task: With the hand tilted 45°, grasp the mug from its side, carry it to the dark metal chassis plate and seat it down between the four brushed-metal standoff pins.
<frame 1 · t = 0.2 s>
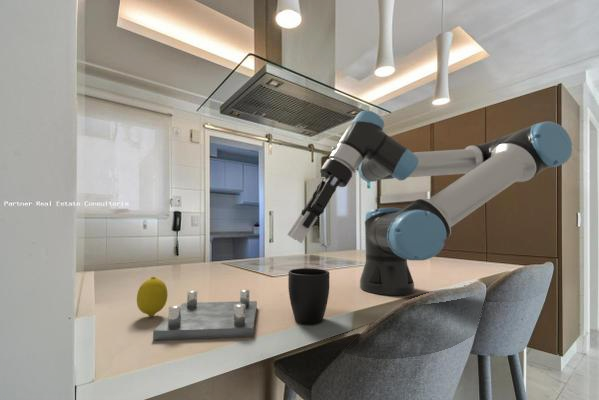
hand: (293, 238, 66), 15 cm above the worktop, tool tilted 35°, fingers open, 13 cm apart
chassis: (213, 321, 54), on the worktop
lemon: (151, 317, 57), on the worktop
mug: (304, 318, 57), on the worktop
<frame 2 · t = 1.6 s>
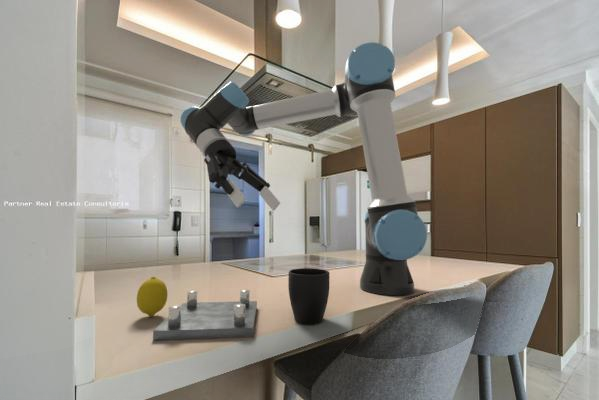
hand: (260, 205, 66), 23 cm above the worktop, tool tilted 45°, fingers open, 13 cm apart
nothing on the worktop moved.
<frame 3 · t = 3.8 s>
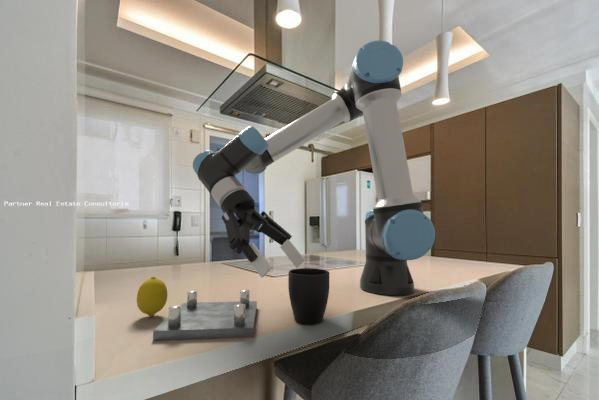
hand: (285, 268, 59), 10 cm above the worktop, tool tilted 45°, fingers open, 13 cm apart
nothing on the worktop moved.
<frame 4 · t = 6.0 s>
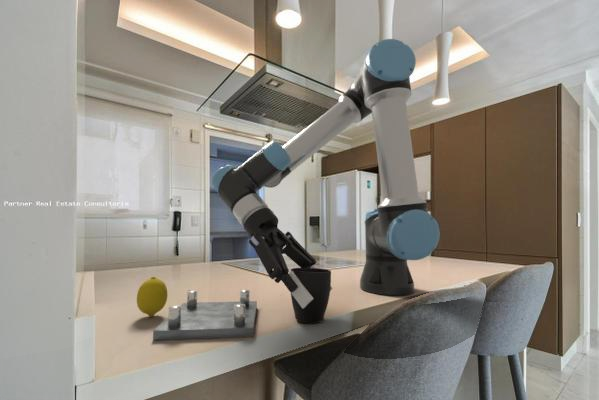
hand: (318, 297, 56), 4 cm above the worktop, tool tilted 45°, fingers closed on mug, 9 cm apart
mug: (305, 317, 57), on the worktop, touching gripper
everything else where it was.
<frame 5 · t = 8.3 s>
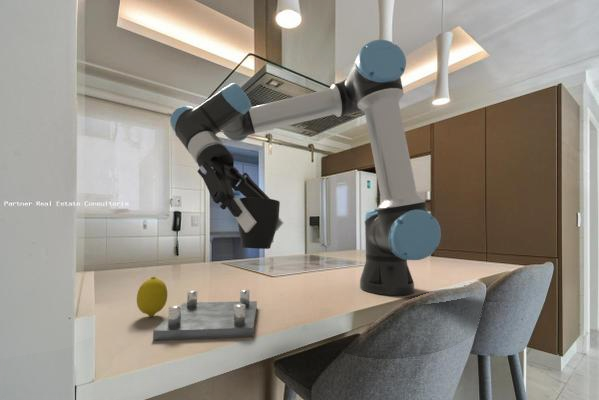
hand: (265, 227, 55), 18 cm above the worktop, tool tilted 45°, fingers closed on mug, 9 cm apart
mug: (253, 248, 57), point 14 cm above the worktop, touching gripper
everything else where it was.
when the fingers open (8 cm above the worktop, at t = 11.0 s): mug drops 2 cm, resting on chassis.
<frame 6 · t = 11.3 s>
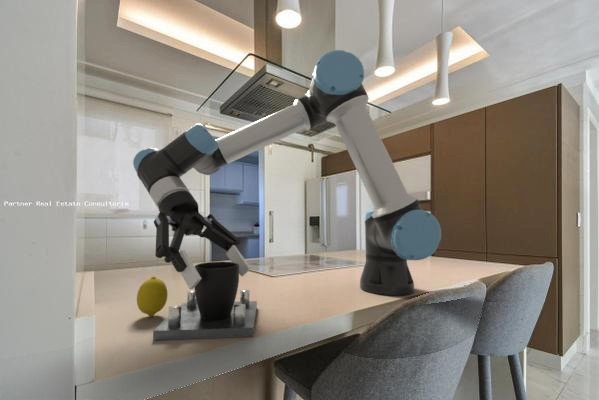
hand: (223, 277, 54), 9 cm above the worktop, tool tilted 45°, fingers open, 13 cm apart
mug: (214, 313, 55), point 1 cm above the worktop, touching chassis
everything else where it was.
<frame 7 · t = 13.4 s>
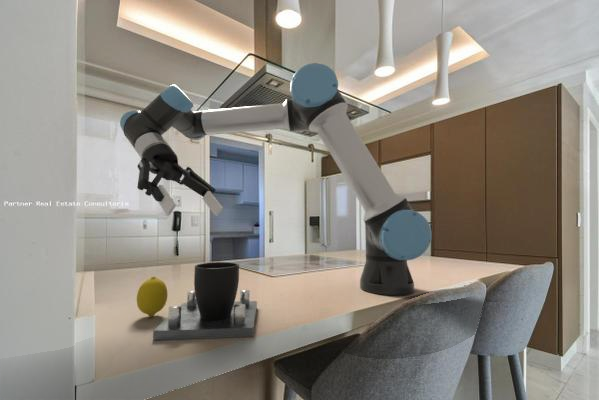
hand: (197, 211, 63), 22 cm above the worktop, tool tilted 45°, fingers open, 13 cm apart
nothing on the worktop moved.
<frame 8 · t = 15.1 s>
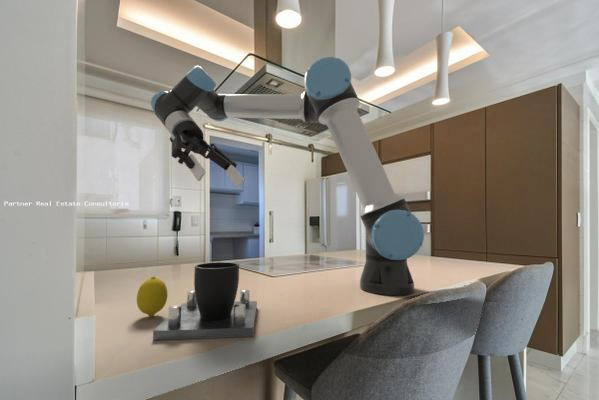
hand: (223, 180, 70), 30 cm above the worktop, tool tilted 45°, fingers open, 13 cm apart
nothing on the worktop moved.
at the end: mug 0.4 cm off-centre on the chassis, point 1.3 cm above the chassis's base; mug tilted 0°; the gripper is holding nothing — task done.
